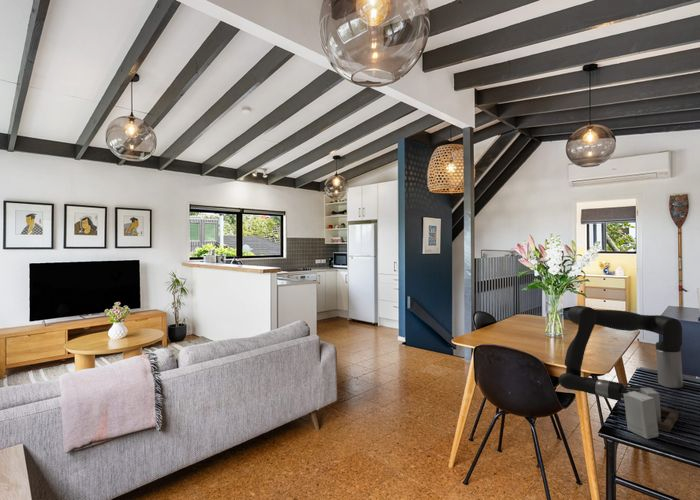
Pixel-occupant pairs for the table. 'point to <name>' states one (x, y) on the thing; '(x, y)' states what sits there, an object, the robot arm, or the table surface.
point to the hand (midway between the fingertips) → (656, 399)
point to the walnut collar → (667, 419)
